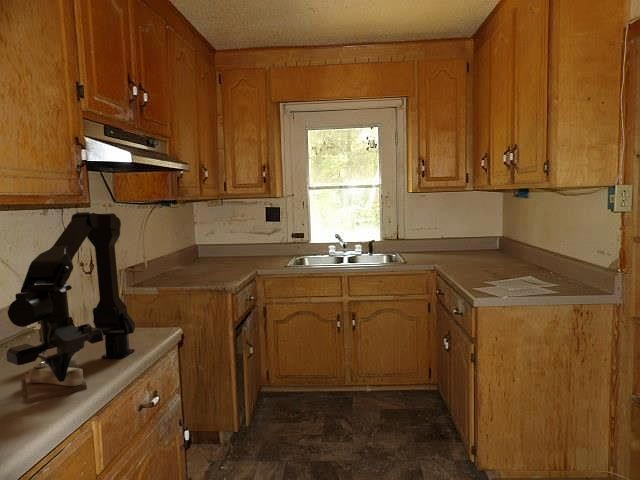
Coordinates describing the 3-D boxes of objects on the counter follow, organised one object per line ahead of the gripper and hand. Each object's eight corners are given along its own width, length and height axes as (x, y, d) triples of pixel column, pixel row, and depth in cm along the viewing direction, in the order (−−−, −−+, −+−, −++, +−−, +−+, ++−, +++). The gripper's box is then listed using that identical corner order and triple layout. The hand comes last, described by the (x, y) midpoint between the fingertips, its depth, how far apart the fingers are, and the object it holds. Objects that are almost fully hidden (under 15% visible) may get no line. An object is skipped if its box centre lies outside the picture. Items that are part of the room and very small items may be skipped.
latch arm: (25, 382, 111) (24, 369, 111) (41, 375, 115) (40, 363, 115) (73, 387, 106) (72, 375, 106) (89, 380, 110) (87, 367, 110)
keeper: (35, 388, 110) (33, 364, 109) (32, 379, 116) (30, 356, 116) (79, 378, 115) (77, 354, 115) (74, 369, 122) (72, 347, 121)
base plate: (25, 378, 117) (24, 374, 117) (76, 367, 123) (76, 363, 123) (28, 402, 102) (28, 398, 102) (86, 388, 109) (86, 384, 109)
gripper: (25, 329, 93) (34, 405, 94) (113, 308, 108) (119, 373, 109) (1, 322, 99) (9, 393, 101) (87, 303, 114) (93, 365, 116)
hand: (61, 381), depth 106 cm, fingers closed
